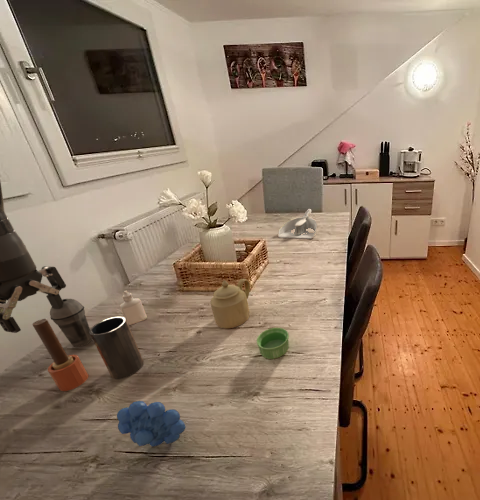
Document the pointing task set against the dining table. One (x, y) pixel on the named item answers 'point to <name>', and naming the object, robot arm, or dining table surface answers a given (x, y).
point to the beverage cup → (72, 322)
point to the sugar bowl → (231, 304)
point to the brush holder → (69, 375)
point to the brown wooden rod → (52, 344)
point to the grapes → (150, 423)
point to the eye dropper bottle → (132, 309)
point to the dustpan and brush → (299, 227)
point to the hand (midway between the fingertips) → (38, 319)
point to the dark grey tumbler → (117, 347)
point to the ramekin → (273, 342)
